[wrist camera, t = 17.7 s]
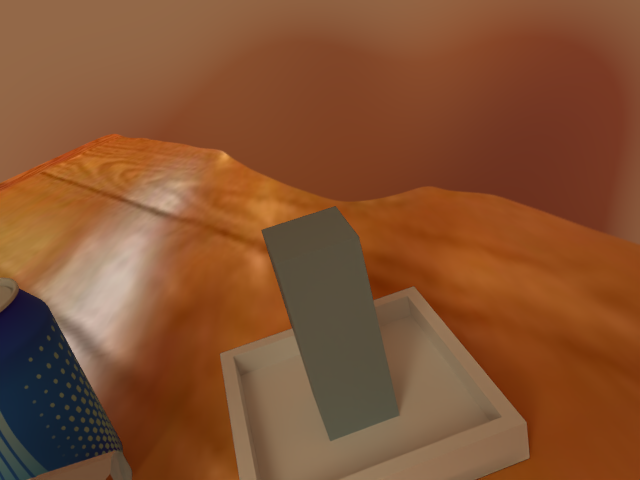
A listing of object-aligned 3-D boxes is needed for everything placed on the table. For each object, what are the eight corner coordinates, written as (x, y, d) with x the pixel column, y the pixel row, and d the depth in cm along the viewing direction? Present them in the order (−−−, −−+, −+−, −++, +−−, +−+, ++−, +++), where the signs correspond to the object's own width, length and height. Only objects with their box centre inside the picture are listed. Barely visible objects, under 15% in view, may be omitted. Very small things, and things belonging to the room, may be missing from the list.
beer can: (119, 521, 38) (4, 328, 31) (-6, 556, 38) (-150, 370, 31) (137, 429, 46) (48, 256, 38) (33, 458, 45) (-76, 290, 38)
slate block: (330, 441, 39) (275, 264, 32) (312, 394, 43) (261, 230, 37) (399, 415, 39) (358, 236, 33) (375, 371, 44) (335, 206, 37)
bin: (262, 563, 33) (247, 530, 32) (230, 381, 48) (219, 353, 47) (529, 458, 35) (526, 422, 34) (419, 314, 50) (414, 286, 49)
